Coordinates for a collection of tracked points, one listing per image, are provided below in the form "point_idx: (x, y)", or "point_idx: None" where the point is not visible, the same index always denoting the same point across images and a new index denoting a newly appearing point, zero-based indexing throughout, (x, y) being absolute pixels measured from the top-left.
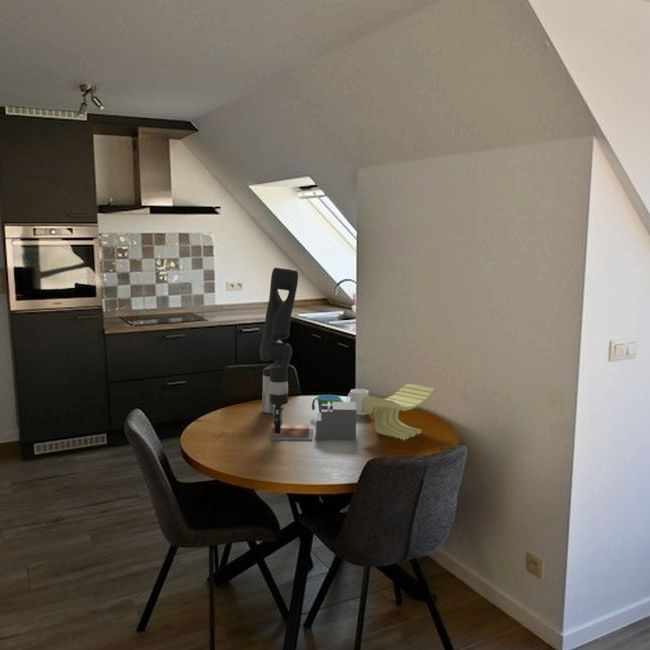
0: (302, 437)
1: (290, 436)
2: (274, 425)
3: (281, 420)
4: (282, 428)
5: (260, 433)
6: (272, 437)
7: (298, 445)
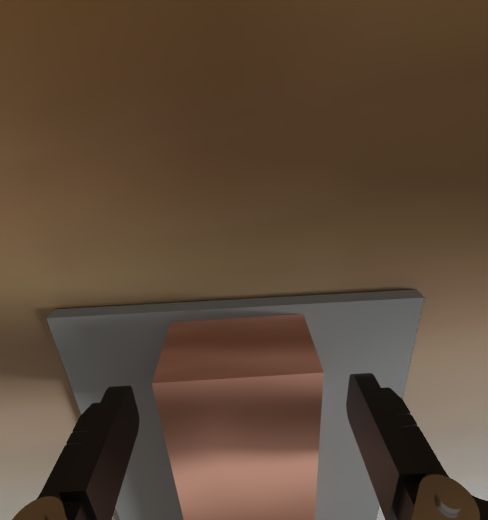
0: (160, 518)
1: (165, 457)
2: (276, 395)
3: (376, 492)
4: (175, 472)
5: (274, 176)
6: (92, 338)
7: (8, 500)
